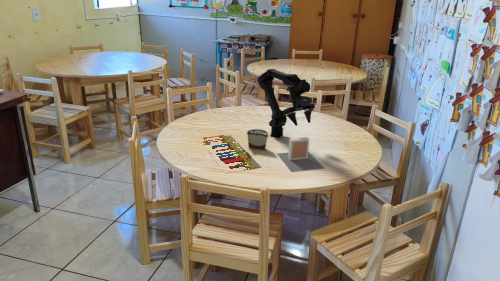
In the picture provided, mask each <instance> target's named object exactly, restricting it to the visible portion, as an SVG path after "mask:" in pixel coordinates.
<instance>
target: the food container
mask: <svg viewBox="0 0 500 281" xmlns="http://www.w3.org/2000/svg"><path fill="white" fill-rule="evenodd" d="M246 135H247V143H248V149H249V148H250V149H251V150H252V149H254V150H259V151H260V150H261V151H266V147H267V141H268V137H269V132H268V131H266V130H264V129H259V128H254V129H253V128H252V129H249V130H247V132H246Z"/></svg>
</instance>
